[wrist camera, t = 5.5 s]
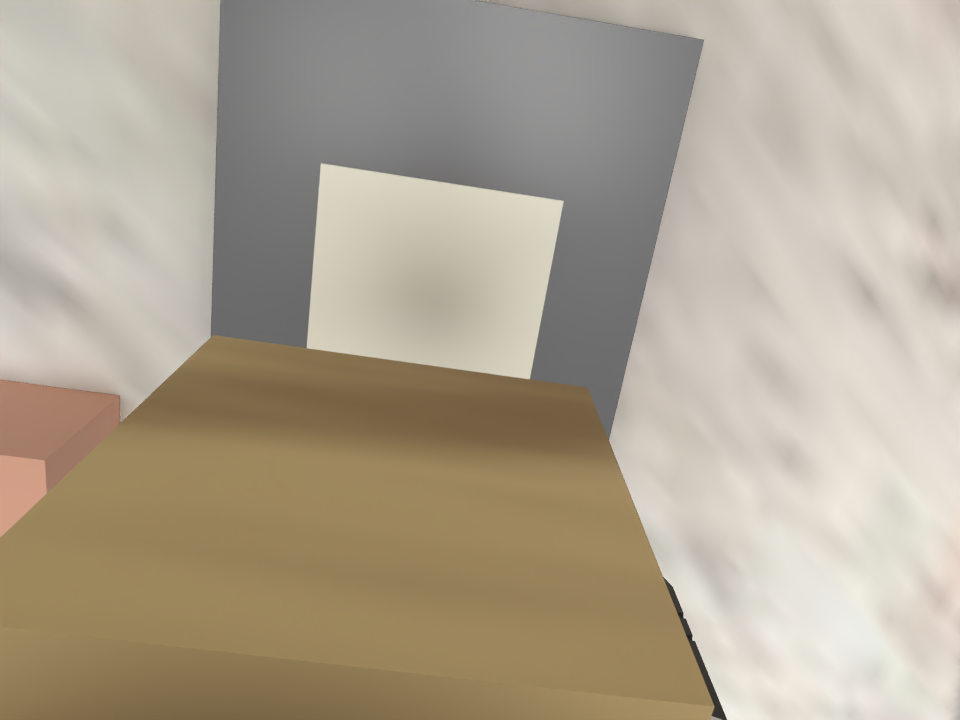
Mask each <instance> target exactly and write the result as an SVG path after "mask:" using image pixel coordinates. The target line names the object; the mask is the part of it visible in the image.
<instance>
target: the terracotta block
mask: <svg viewBox="0 0 960 720" xmlns="http://www.w3.org/2000/svg"><path fill="white" fill-rule="evenodd" d="M119 424H120V396H119V395H111V394H104V393H96V392H89V391H81V390H74V389H66V388H59V387H51V386H44V385H36V384H29V383H21V382H14V381H6V380H0V537H2V536H3V535H4V534H5V533H6V532H7V531H8V530H9V529H10V528H11V527H12V526H13V525H14V524H15V523H16V522H17V521H18V520H19V519H20V518H22V517H23V516H24V515H25V514H26V513H27V512H28V511H29V510H30V509H31V508H32V507H33V506H34V505H35V504H36V503H37V502H38V501H39V500H40V499H42V498H43V497H44V496H45V495H46V494H47V493H48V492H49V491H50V490H51V489H52V488H53V487H54V486H55V485H56V484H57V483H58V482H59V481H60V480H62V479H63V478H64V477H65V476H66V475H67V474H68V473H69V472H70V471H71V470H72V469H73V468H74V467H75V466H76V465H77V464H78V463H79V462H80V461H81V460H83V459H84V458H85V457H86V456H87V455H88V454H89V453H90V452H91V451H92V450H93V449H94V448H95V447H96V446H97V445H98V444H99V443H100V442H101V441H103V440H104V439H105V438H106V437H107V436H108V435H109V434H110V433H111V432H112V431H113V430H114V429H115V428H116V427H117V426H118V425H119Z"/></svg>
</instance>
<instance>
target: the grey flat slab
mask: <svg viewBox="0 0 960 720" xmlns="http://www.w3.org/2000/svg"><path fill="white" fill-rule="evenodd" d="M703 42H704V40H702V39H696V38H691V37H685V36H679V35H673V34H667V33H662V32H656V31H650V30H644V29H638V28H633V27H627V26H621V25H615V24H609V23H603V22H598V21H592V20H586V19H580V18H574V17H569V16H563V15H557V14H551V13H545V12H540V11H534V10H528V9H522V8H516V7H511V6H505V5H499V4H493V3H487V2H481V1H476V0H221V4H220V39H219V74H218V108H217V143H216V178H215V213H214V248H213V283H212V317H211V337H212V336H213V335H216V336H223V337H231V338H238V339H245V340H252V341H259V342H266V343H273V344H281V345H288V346H295V347H302V348H309V349H316V350H324V351H331V352H338V353H345V354H352V355H359V356H366V357H374V358H381V359H388V360H395V361H402V362H409V363H417V364H424V365H431V366H438V367H445V368H452V369H459V370H467V371H474V372H481V373H488V374H495V375H502V376H510V377H517V378H524V379H531V380H538V381H545V382H552V383H560V384H567V385H574V386H581V387H588V390H589V392H590V395H591V397H592V400H593V402H594V405H595V407H596V410H597V412H598V415H599V417H600V420H601V422H602V425H603V427H604V430H605V432H606V435H607V437H608V440H609V437H610V433H611V429H612V424H613V420H614V416H615V412H616V408H617V403H618V399H619V395H620V391H621V387H622V382H623V378H624V374H625V370H626V366H627V361H628V357H629V353H630V349H631V345H632V340H633V336H634V332H635V328H636V324H637V319H638V315H639V311H640V307H641V302H642V298H643V294H644V290H645V286H646V281H647V277H648V273H649V269H650V265H651V260H652V256H653V252H654V248H655V244H656V239H657V235H658V231H659V227H660V223H661V218H662V214H663V210H664V206H665V202H666V197H667V193H668V189H669V185H670V181H671V176H672V172H673V168H674V164H675V160H676V155H677V151H678V147H679V143H680V139H681V134H682V130H683V126H684V122H685V118H686V113H687V109H688V105H689V101H690V97H691V92H692V88H693V84H694V80H695V76H696V71H697V67H698V63H699V59H700V55H701V50H702V46H703Z"/></svg>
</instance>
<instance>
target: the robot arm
mask: <svg viewBox="0 0 960 720" xmlns="http://www.w3.org/2000/svg"><path fill="white" fill-rule="evenodd" d="M663 578H664V577H663ZM664 581H665V583H666V586H667V588H668V591H669V593H670V596H671V599H672V601H673V604H674V606H675V609H676V611H677V614H678V616H679V619H680V621H681V624H682V626H683V629H684V631H685V634H686V636H687V639H688V641H689V644H690V646H691V649H692V651H693V654H694V656H695V659H696V661H697V664H698V666H699V669H700V671H701V674H702V677H703V679H704V682H705V684H706V687H707V689H708V692H709V694H710V697H711V699H712V702H713V704H714V710H713V713H712V716H711V719H710V720H727V719H726V716H725V714H724V711H723V709H722V706H721V704H720V702H719V699H718V697H717V694H716V692H715V689H714V687H713V684H712V682H711V680H710V677H709V675H708V672H707V670H706V667H705V665H704V662H703V660H702V657H701V655H700V653H699V650H698V648H697V645H696V643H695V641H692V633H691V631H690V628H689V626H688V623H687V621H686V619H684V618H683V611H682V609H681V606H680V604H679V601H678V599H677V596H676V594H675V591H674V589H673V587H672V586H671V585H670V584H669V583H668V582H667V581H666V579H665V578H664Z"/></svg>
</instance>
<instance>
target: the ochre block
mask: <svg viewBox="0 0 960 720" xmlns="http://www.w3.org/2000/svg"><path fill="white" fill-rule="evenodd" d="M713 710H714V704H713V702H712V699H711V697H710V694H709V692H708V689H707V687H706V684H705V682H704V679H703V677H702V674H701V671H700V669H699V666H698V664H697V661H696V659H695V656H694V654H693V651H692V649H691V646H690V644H689V641H688V639H687V636H686V634H685V631H684V629H683V626H682V624H681V621H680V619H679V616H678V614H677V611H676V609H675V606H674V604H673V601H672V599H671V596H670V593H669V591H668V588H667V586H666V583H665V581H664V578H663V576H662V573H661V571H660V568H659V566H658V563H657V561H656V558H655V556H654V553H653V551H652V548H651V546H650V543H649V541H648V538H647V536H646V533H645V531H644V528H643V526H642V523H641V521H640V518H639V515H638V513H637V510H636V508H635V505H634V503H633V500H632V498H631V495H630V493H629V490H628V488H627V485H626V483H625V480H624V478H623V475H622V473H621V470H620V468H619V465H618V463H617V460H616V458H615V455H614V453H613V450H612V448H611V445H610V443H609V440H608V437H607V435H606V432H605V430H604V427H603V425H602V422H601V420H600V417H599V415H598V412H597V410H596V407H595V405H594V402H593V400H592V397H591V395H590V392H589V390H588V387H581V386H574V385H567V384H560V383H552V382H545V381H538V380H531V379H524V378H517V377H510V376H502V375H495V374H488V373H481V372H474V371H467V370H459V369H452V368H445V367H438V366H431V365H424V364H417V363H409V362H402V361H395V360H388V359H381V358H374V357H366V356H359V355H352V354H345V353H338V352H331V351H324V350H316V349H309V348H302V347H295V346H288V345H281V344H273V343H266V342H259V341H252V340H245V339H238V338H231V337H223V336H216V335H213V336H212V337H211V338H210V339H209V340H208V341H207V342H206V343H205V344H204V345H202V346H201V347H200V348H199V349H198V350H197V351H196V352H195V353H194V354H193V355H192V356H191V357H190V358H189V359H188V360H187V361H186V362H185V363H184V364H183V365H181V366H180V367H179V368H178V369H177V370H176V371H175V372H174V373H173V374H172V375H171V376H170V377H169V378H168V379H167V380H166V381H165V382H164V383H163V384H161V385H160V386H159V387H158V388H157V389H156V390H155V391H154V392H153V393H152V394H151V395H150V396H149V397H148V398H147V399H146V400H145V401H144V402H143V403H141V404H140V405H139V406H138V407H137V408H136V409H135V410H134V411H133V412H132V413H131V414H130V415H129V416H128V417H127V418H126V419H125V420H124V421H123V422H121V423H120V424H119V425H118V426H117V427H116V428H115V429H114V430H113V431H112V432H111V433H110V434H109V435H108V436H107V437H106V438H105V439H104V440H103V441H101V442H100V443H99V444H98V445H97V446H96V447H95V448H94V449H93V450H92V451H91V452H90V453H89V454H88V455H87V456H86V457H85V458H84V459H83V460H81V461H80V462H79V463H78V464H77V465H76V466H75V467H74V468H73V469H72V470H71V471H70V472H69V473H68V474H67V475H66V476H65V477H64V478H63V479H62V480H60V481H59V482H58V483H57V484H56V485H55V486H54V487H53V488H52V489H51V490H50V491H49V492H48V493H47V494H46V495H45V496H44V497H43V498H42V499H40V500H39V501H38V502H37V503H36V504H35V505H34V506H33V507H32V508H31V509H30V510H29V511H28V512H27V513H26V514H25V515H24V516H23V517H22V518H20V519H19V520H18V521H17V522H16V523H15V524H14V525H13V526H12V527H11V528H10V529H9V530H8V531H7V532H6V533H5V534H4V535H3V536H2V537H0V720H710V719H711V716H712V713H713Z"/></svg>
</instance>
